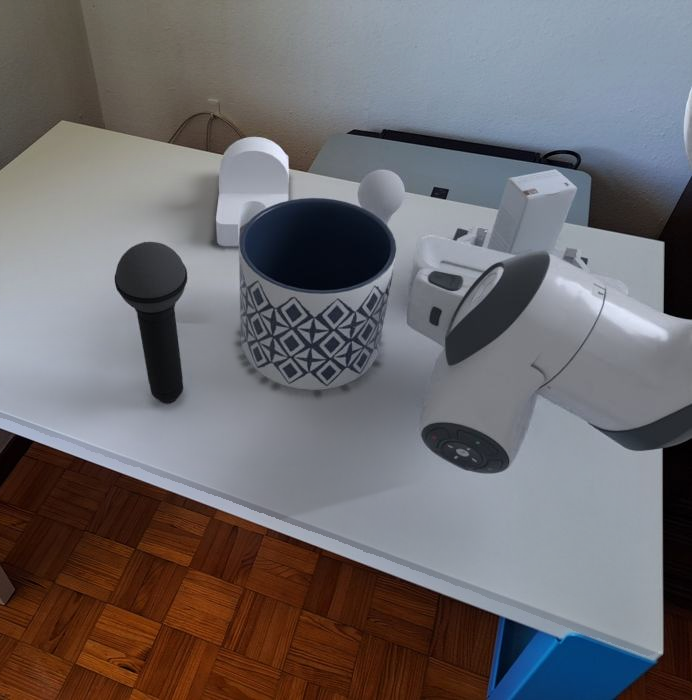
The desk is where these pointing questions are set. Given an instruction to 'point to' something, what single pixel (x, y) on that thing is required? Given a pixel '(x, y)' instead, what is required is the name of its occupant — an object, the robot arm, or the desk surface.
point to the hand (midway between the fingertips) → (524, 242)
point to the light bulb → (381, 193)
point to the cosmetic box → (532, 213)
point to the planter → (314, 291)
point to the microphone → (155, 311)
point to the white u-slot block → (249, 184)
